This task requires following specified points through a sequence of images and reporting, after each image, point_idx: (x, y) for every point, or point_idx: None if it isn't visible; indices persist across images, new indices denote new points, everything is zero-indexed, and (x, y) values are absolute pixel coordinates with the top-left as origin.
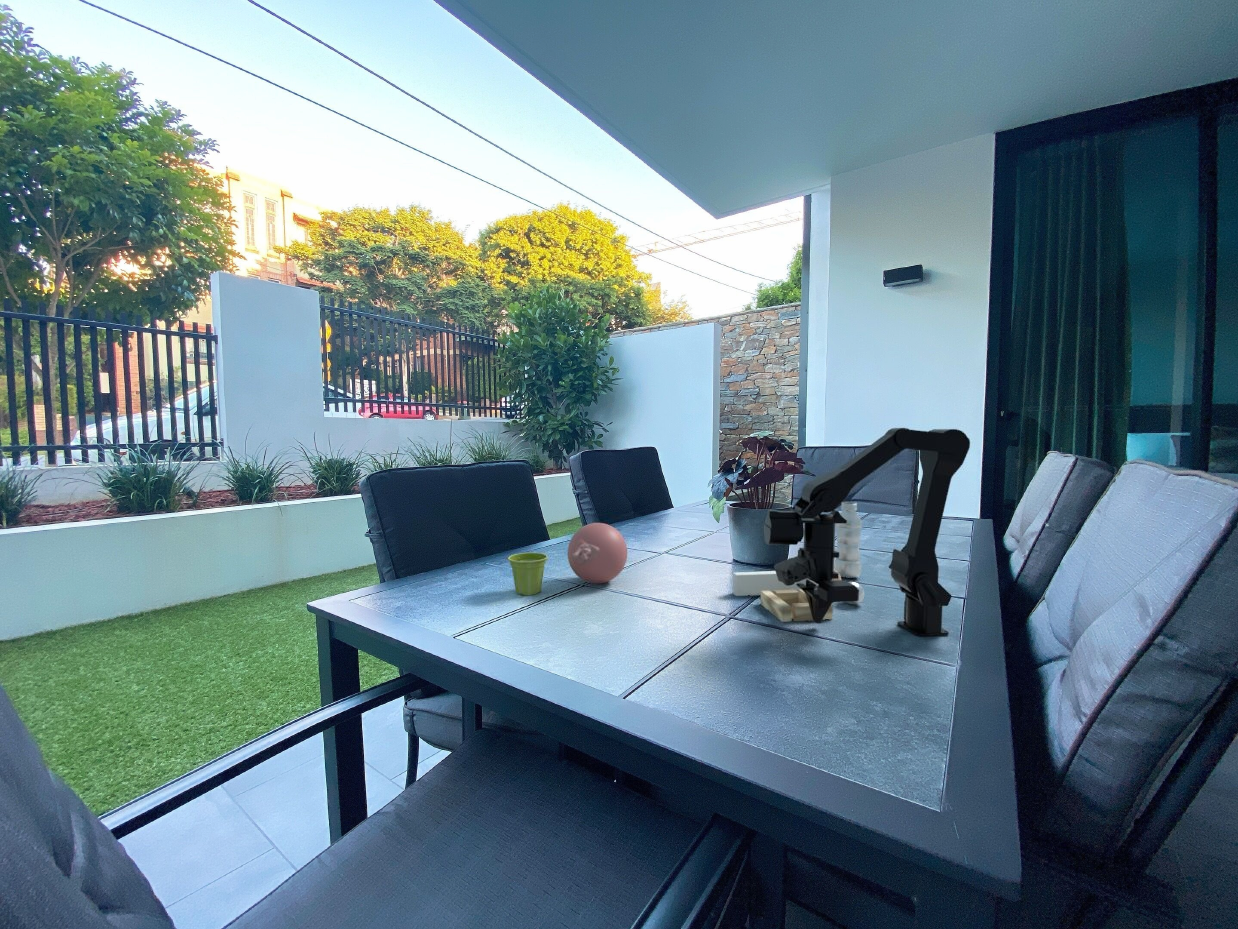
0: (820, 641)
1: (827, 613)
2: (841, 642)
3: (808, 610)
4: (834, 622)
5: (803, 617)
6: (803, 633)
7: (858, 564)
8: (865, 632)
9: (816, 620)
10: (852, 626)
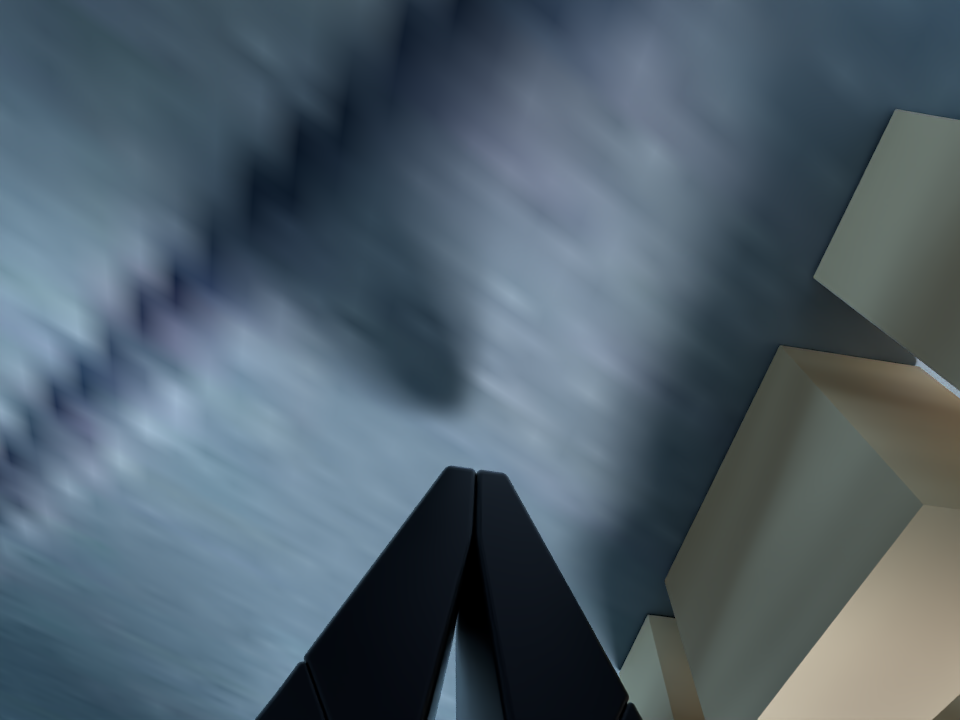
0: (22, 212)
1: (650, 709)
2: (25, 424)
3: (762, 604)
4: None
5: (753, 469)
6: (331, 157)
7: None
8: None
9: (425, 496)
10: None
